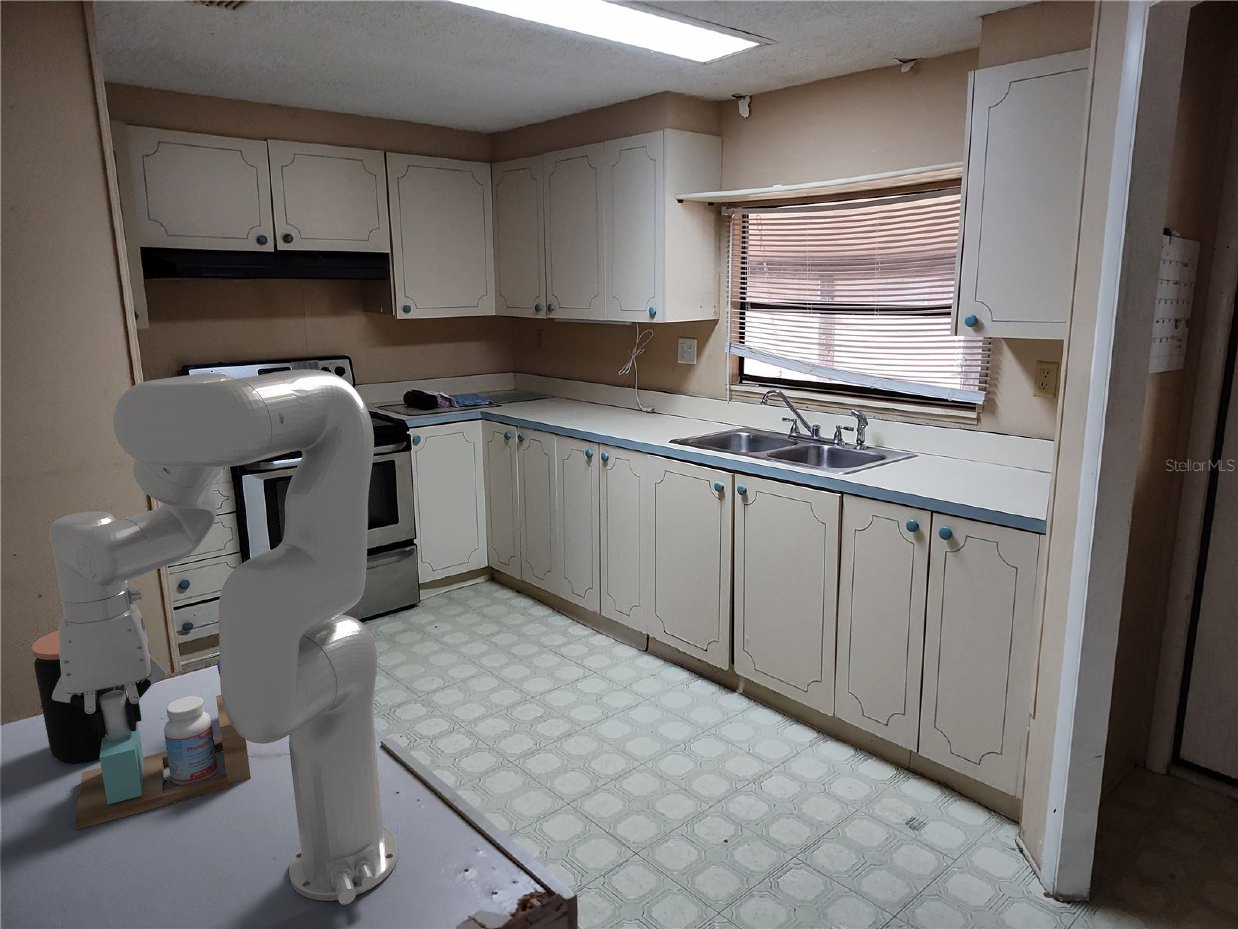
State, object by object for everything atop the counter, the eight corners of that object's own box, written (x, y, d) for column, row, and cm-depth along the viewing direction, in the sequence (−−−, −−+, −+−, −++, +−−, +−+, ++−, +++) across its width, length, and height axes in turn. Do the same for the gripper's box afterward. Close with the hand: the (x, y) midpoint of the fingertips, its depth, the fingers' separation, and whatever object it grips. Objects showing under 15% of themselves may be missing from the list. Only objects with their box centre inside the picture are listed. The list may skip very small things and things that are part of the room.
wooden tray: (251, 782, 117) (244, 724, 115) (76, 829, 107) (65, 768, 105) (244, 741, 127) (237, 688, 125) (84, 781, 118) (74, 724, 115)
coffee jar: (136, 751, 125) (118, 641, 121) (52, 775, 119) (30, 661, 115) (130, 721, 134) (113, 617, 129) (51, 742, 128) (31, 634, 124)
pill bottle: (199, 789, 115) (188, 717, 113) (161, 785, 117) (150, 713, 114) (227, 765, 121) (218, 695, 119) (191, 760, 122) (181, 691, 120)
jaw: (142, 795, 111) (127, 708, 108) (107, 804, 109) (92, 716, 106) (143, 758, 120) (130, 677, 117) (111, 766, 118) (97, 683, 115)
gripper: (167, 584, 116) (184, 703, 120) (25, 608, 108) (49, 734, 112) (167, 602, 109) (186, 727, 113) (17, 629, 102) (43, 761, 106)
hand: (118, 729), depth 113 cm, fingers closed on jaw, 3 cm apart
